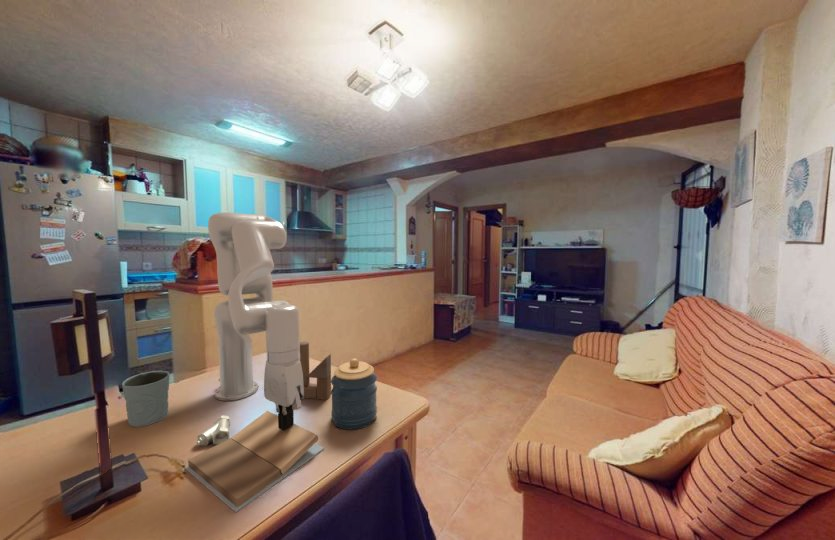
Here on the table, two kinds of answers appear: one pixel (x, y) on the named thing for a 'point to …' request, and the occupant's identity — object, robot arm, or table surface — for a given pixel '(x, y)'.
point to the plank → (275, 441)
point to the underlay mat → (303, 459)
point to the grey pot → (146, 397)
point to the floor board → (234, 471)
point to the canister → (354, 395)
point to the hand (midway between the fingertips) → (286, 426)
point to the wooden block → (315, 375)
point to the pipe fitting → (215, 432)
